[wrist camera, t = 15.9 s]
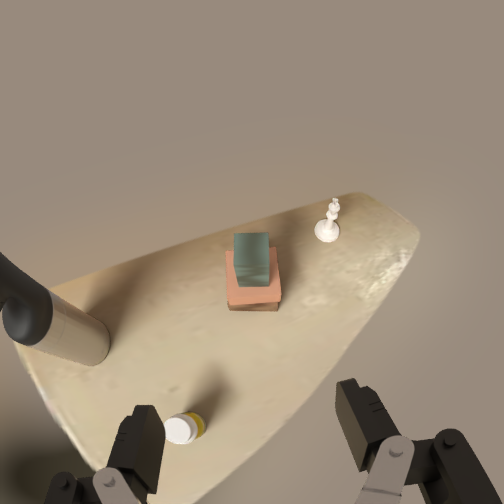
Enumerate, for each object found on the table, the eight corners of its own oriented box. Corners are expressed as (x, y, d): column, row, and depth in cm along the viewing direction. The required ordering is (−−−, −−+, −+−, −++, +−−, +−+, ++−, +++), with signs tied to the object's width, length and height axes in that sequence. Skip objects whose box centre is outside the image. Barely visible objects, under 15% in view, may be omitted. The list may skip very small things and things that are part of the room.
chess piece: (332, 218, 57) (342, 185, 48) (343, 238, 54) (355, 207, 46) (310, 224, 56) (317, 191, 47) (320, 245, 54) (329, 214, 45)
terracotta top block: (229, 305, 46) (227, 298, 43) (228, 260, 50) (225, 250, 47) (280, 301, 46) (281, 294, 43) (275, 256, 50) (275, 246, 47)
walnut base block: (230, 311, 49) (227, 304, 46) (232, 268, 53) (230, 259, 50) (277, 311, 49) (277, 305, 46) (277, 268, 52) (277, 260, 49)
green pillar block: (238, 287, 44) (233, 264, 37) (239, 260, 46) (234, 233, 39) (268, 286, 43) (269, 263, 36) (268, 259, 46) (268, 232, 38)
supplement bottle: (195, 406, 41) (180, 408, 34) (212, 429, 39) (200, 436, 32) (172, 420, 40) (153, 424, 33) (188, 443, 38) (173, 452, 31)
